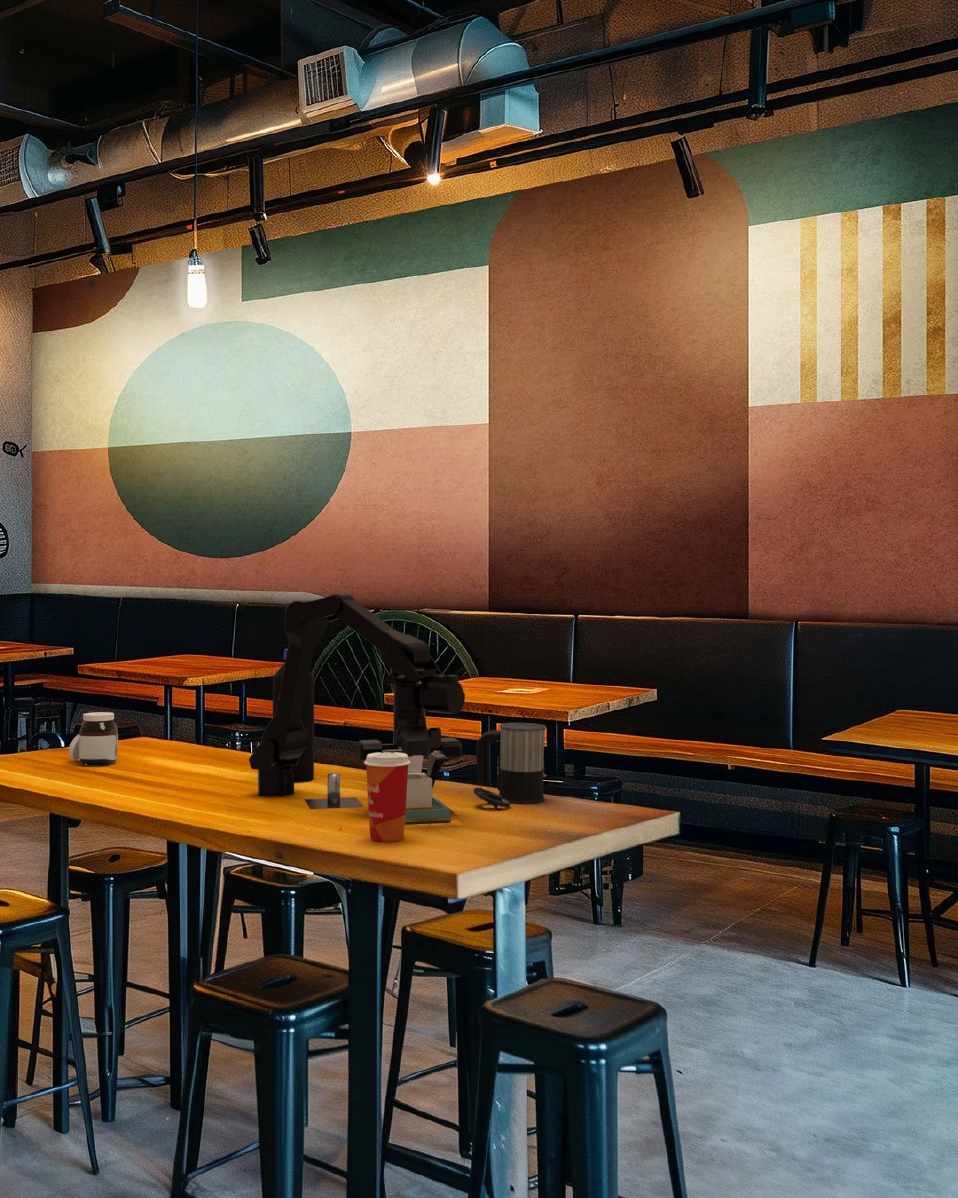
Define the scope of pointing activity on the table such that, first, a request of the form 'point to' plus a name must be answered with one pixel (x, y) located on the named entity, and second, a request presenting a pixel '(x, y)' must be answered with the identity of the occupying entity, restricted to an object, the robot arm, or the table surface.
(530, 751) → the milk frother
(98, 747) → the spread jar
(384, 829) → the paper cup
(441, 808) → the tray
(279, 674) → the bottle
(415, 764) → the smoothie
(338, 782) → the metal post stand
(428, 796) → the collar
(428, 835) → the table surface
